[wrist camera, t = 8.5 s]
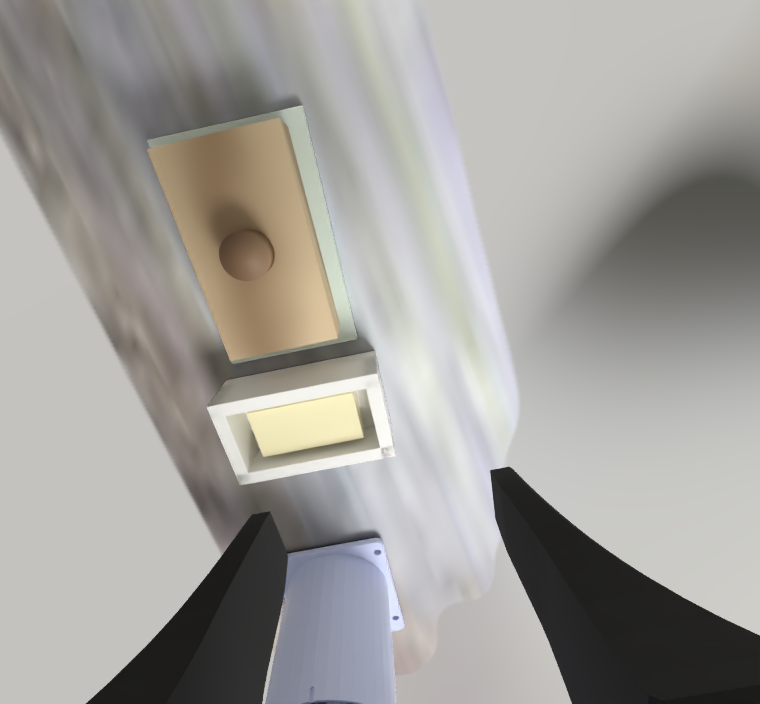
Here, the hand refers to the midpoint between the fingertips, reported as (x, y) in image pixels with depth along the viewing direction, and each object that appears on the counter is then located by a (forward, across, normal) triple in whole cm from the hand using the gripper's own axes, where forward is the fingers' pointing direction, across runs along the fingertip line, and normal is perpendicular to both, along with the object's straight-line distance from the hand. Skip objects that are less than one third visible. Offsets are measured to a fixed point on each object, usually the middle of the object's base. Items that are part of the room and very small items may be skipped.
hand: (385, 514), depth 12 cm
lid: (+10, +4, -8) cm, 13 cm away
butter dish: (+10, +4, +1) cm, 11 cm away
